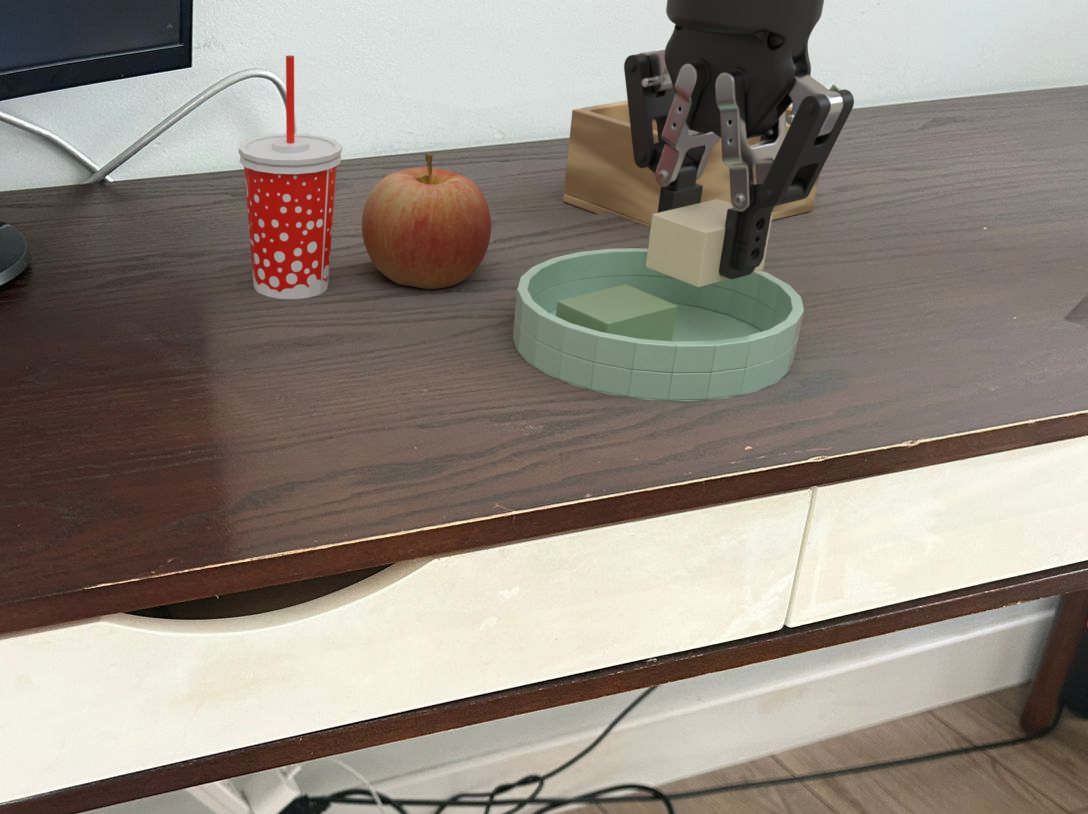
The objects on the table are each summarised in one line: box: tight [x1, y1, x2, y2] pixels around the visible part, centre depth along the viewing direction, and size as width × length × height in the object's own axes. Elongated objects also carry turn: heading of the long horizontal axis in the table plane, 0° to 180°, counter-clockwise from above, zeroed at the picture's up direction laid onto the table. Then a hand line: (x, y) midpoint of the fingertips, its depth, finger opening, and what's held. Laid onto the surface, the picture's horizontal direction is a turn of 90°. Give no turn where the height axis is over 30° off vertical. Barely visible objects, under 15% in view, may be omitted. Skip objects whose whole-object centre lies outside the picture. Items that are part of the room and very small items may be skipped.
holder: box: [562, 99, 821, 228], centre depth 98 cm, size 14×12×7 cm
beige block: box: [646, 199, 773, 287], centre depth 75 cm, size 5×4×3 cm
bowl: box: [512, 247, 805, 402], centre depth 76 cm, size 15×15×4 cm
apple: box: [361, 152, 492, 290], centre depth 84 cm, size 8×8×8 cm
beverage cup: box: [238, 54, 343, 300], centre depth 82 cm, size 6×6×14 cm
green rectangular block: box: [556, 284, 677, 341], centre depth 74 cm, size 5×4×3 cm
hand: (704, 262), depth 76 cm, fingers closed on beige block, 4 cm apart
